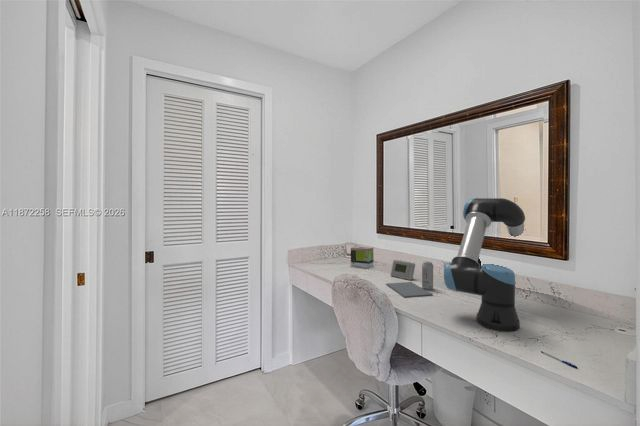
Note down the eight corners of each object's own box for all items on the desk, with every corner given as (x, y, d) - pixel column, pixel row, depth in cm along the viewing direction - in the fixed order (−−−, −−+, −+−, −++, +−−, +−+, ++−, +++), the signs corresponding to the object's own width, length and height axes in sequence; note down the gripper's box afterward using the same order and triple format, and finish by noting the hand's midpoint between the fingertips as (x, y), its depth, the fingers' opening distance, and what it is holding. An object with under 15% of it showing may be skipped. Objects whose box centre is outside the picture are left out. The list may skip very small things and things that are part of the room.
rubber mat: (432, 295, 158) (432, 294, 158) (404, 297, 155) (404, 296, 155) (411, 283, 182) (411, 281, 182) (386, 284, 179) (386, 283, 179)
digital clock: (389, 276, 200) (389, 260, 199) (398, 274, 204) (398, 258, 204) (407, 281, 186) (407, 264, 185) (417, 279, 190) (417, 262, 190)
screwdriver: (578, 369, 89) (578, 365, 89) (576, 369, 89) (576, 366, 89) (541, 352, 99) (541, 349, 99) (539, 353, 99) (539, 350, 99)
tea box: (373, 266, 230) (373, 247, 229) (368, 268, 221) (368, 248, 221) (356, 264, 238) (355, 245, 237) (350, 266, 229) (350, 247, 229)
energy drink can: (419, 288, 172) (419, 262, 171) (426, 286, 175) (426, 260, 174) (428, 290, 167) (428, 264, 166) (435, 288, 170) (435, 262, 169)
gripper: (488, 271, 170) (451, 274, 166) (473, 266, 183) (438, 269, 179) (489, 258, 170) (451, 261, 166) (473, 254, 183) (438, 256, 178)
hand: (444, 265), depth 172 cm, fingers closed
